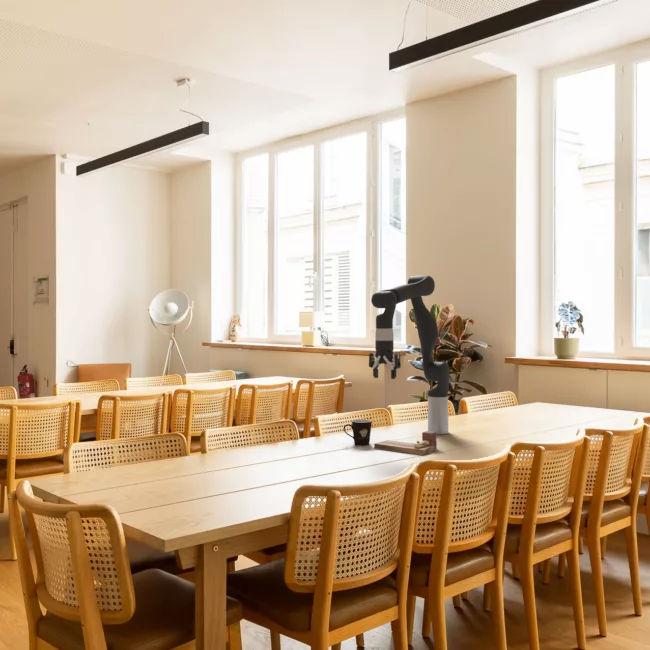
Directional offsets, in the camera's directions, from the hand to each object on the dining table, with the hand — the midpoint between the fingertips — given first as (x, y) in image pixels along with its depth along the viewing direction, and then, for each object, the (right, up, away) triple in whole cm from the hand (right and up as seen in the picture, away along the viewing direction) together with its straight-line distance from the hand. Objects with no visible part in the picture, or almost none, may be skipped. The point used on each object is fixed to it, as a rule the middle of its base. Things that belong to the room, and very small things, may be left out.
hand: (384, 378), depth 297 cm
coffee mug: (-10, -29, +10) cm, 33 cm away
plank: (+8, -29, -3) cm, 30 cm away
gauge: (+16, -29, -5) cm, 34 cm away
